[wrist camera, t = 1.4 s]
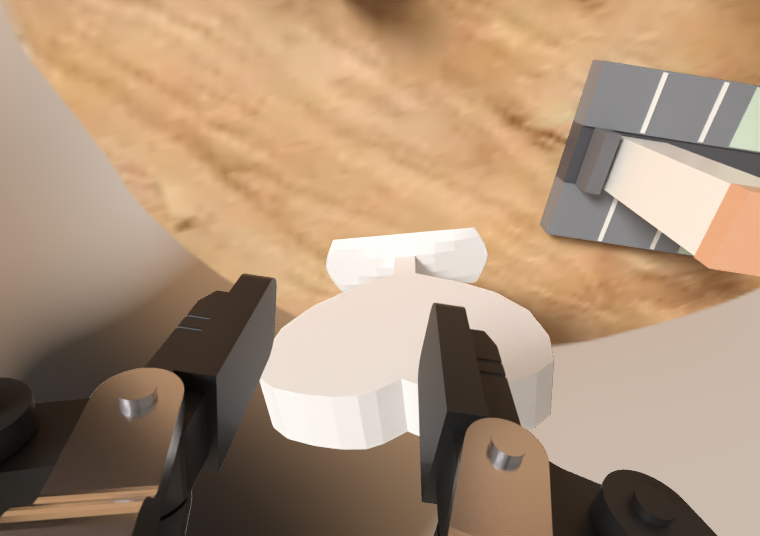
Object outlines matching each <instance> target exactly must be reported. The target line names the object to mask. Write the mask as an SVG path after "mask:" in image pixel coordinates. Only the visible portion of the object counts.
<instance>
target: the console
mask: <svg viewBox="0 0 760 536" xmlns="http://www.w3.org/2000/svg"><path fill="white" fill-rule="evenodd" d="M622 136H625V137H632V138H638V139H644V140H651V141H657V142H664V143H668V144H671V145H674V146H676V147H679V148H682V149H684V150H687V151H690V152H692V153H695V154H698V155H700V156H703V157H706V158H708V159H711V160H714V161H716V162H719V163H722V164H724V165H727V166H730V167H732V168H735V169H738V170H740V171H743V172H746V173H748V174H751V175H754V176H756V177H759V178H760V86H758V85H752V84H746V83H739V82H733V81H727V80H721V79H714V78H708V77H702V76H696V75H689V74H683V73H677V72H671V71H664V70H658V69H652V68H646V67H639V66H633V65H627V64H621V63H614V62H608V61H599V60H593V62H592V65H591V69H590V72H589V75H588V78H587V81H586V84H585V87H584V90H583V93H582V96H581V99H580V103H579V106H578V109H577V112H576V115H575V118H574V121H573V124H572V127H571V130H570V133H569V137H568V140H567V143H566V146H565V149H564V152H563V155H562V158H561V161H560V164H559V168H558V171H557V174H556V177H555V180H554V183H553V186H552V189H551V192H550V195H549V198H548V202H547V205H546V208H545V211H544V214H543V217H542V220H541V223H540V225H541V226H542V228H543V229H544V230H545V232H546V233H547V234H551V235H557V236H564V237H570V238H577V239H583V240H590V241H596V242H603V243H609V244H616V245H622V246H629V247H635V248H642V249H648V250H655V251H661V252H668V253H675V254H681V255H688V256H694V255H692V254H691V253H690V252H688V251H687V250H686V249H684V248H683V247H682V246H680V245H679V244H677V243H676V242H675V241H673V240H672V239H671V238H669V237H668V236H667V235H665V234H664V233H662V232H661V231H660V230H658V229H657V228H656V227H654V226H653V225H651V224H650V223H649V222H647V221H646V220H645V219H643V218H642V217H641V216H639V215H638V214H636V213H635V212H634V211H632V210H631V209H630V208H628V207H627V206H626V205H624V204H623V203H621V202H620V201H619V200H617V199H616V198H615V197H613V196H612V195H610V194H609V193H608V192H606V191H605V190H604V189H602V187H603V184H604V182H605V179H606V176H607V174H608V171H609V168H610V166H611V163H612V160H613V158H614V155H615V153H616V150H617V147H618V145H619V142H620V139H621V137H622Z"/></svg>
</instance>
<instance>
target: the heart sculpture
mask: <svg viewBox="0 0 760 536" xmlns="http://www.w3.org/2000/svg"><path fill="white" fill-rule="evenodd" d="M487 256H488V254H487V250H486V247H485V244H484V242H483V241H482V239H481V237H480V235H479V234H478V232H477V231H476V229H475V228H463V229H452V230H440V231H429V232H418V233H406V234H395V235H384V236H373V237H361V238H350V239H339V240H333V242H332V244H331V247H330V249H329V253H328V256H327V263H326V269H327V271H328V273H329V275H330V277H331V279H332V280H333V281H334V283H335V284H336V285H337V287H338V288H339V289H340V290H341V291H342V292H343V293H341V294H338V295H336V296H334V297H332V298H329V299H327V300H325V301H323V302H320V303H318V304H316V305H314V306H312V307H311V308H309V309H308V310H307V311H305V312H304V313H302V314H301V315H299V316H298V317H297V318H295V319H294V320H292V321H291V322H290V323H288V324H287V325H285V326H284V327H282V329H281V330H280V332H279V333H278V335H277V336H276V337H275V339H274V341H273V346H272V350H271V354H270V357H269V360H268V362H267V364H266V366H265V369H264V371H263V373H262V375H261V378H260V384H261V387H262V391H263V394H264V397H265V401H266V404H267V407H268V411H269V414H270V418H271V421H272V424H273V427H274V428H275V429H276V430H278V431H279V432H280V433H281V434H282V435H284V436H285V437H286V438H288V439H291V440H295V441H299V442H302V443H306V444H310V445H313V446H320V447H328V448H335V449H368V448H372V447H375V446H378V445H381V444H384V443H386V442H388V441H390V440H392V439H394V438H396V437H398V436H399V435H401V434H403V433H405V432H407V431H409V432H411V433H413V434H416V435H418V436H420V434H419V404H418V369H419V361H420V355H421V351H422V346H423V342H424V338H425V333H426V329H427V324H428V320H429V315H430V311H431V308H432V305H433V303H441V304H447V305H454V306H461V307H465V309H466V314H467V318H468V323H469V327H470V329H474V330H481V331H485V332H486V334H487V335H488V336H489V337H490V338H491V339H492V340H493V342H494V343H495V344H496V345H497V347H498V350H499V354H500V357H501V360H502V363H501V364H503V367H504V370H505V374H506V375H505V378H507V380H508V384H509V387H510V390H511V394H512V397H513V400H514V404H515V407H516V410H517V414H518V417H519V420H520V424H521V426H522V427H523V428H525V429H526V430H529V429H532V428H535V427H536V426H537V425H538V424H539V423H541V422H542V421H543V420H544V419H545V418H546V417H547V416H549V415H550V413H551V399H552V383H553V368H554V357H553V352H552V347H551V342H550V337H549V335H548V334H547V333H546V331H545V330H544V329H543V328H542V326H541V325H540V324H539V323H538V321H537V320H536V319H535V317H534V316H533V315H532V314H531V312H530V311H529V310H527V309H525V308H524V307H522V306H520V305H518V304H516V303H514V302H513V301H511V300H509V299H507V298H505V297H503V296H502V295H500V294H498V293H496V292H493V291H490V290H486V289H483V288H479V287H476V286H472V285H469V284H465V283H474V282H476V281H477V279H478V278H479V276H480V274H481V272H482V270H483V268H484V266H485V264H486V260H487Z"/></svg>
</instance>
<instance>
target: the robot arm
mask: <svg viewBox="0 0 760 536" xmlns="http://www.w3.org/2000/svg"><path fill="white" fill-rule="evenodd" d="M275 309H276V280H275V278H270V277H263V276H257V275H250V274H242V275H241V276H240V278H239V279H238V281H237V282H236V283H235V285H234V286H233V288H232V289H231V290H230V292H222V291H215V292H213V293H212V294H210V295H208V296H206V297H205V298H203V299H201V300H199V301H198V302H197V303H196V304H195V306H194V307H193V308H192V309H191V311H190V312H189V313H188V315H187V317H185V318H184V319H183V320H182V322H181V323H180V324H179V326H178V329H175V330H174V331H173V333H172V334H171V335H170V336H169V338H168V339H167V340H166V341H165V342H164V344H163V345H162V346H161V348H160V349H159V350H158V351H157V352H156V354H155V355H154V356H153V357H152V358H151V360H150V361H149V362H148V363H147V365H146V366H145V367H144V368H140V369H134V370H130V371H126V372H123V373H120V374H118V375H116V376H114V377H111V378H110V379H108V380H107V381H105V382H104V383H102V384H101V385H100V386H99V387H98V388H97V389H96V390H95V391H94V392H93V394H92V395H91V397H90V398H85V399H77V400H66V401H54V402H44V403H35V402H34V399H33V395H32V391H31V389H30V387H29V386H28V385H27V384H25V383H24V382H22V381H19V380H16V379H12V378H0V536H185V533H186V528H187V523H188V517H189V512H190V507H191V501H192V492H191V490H192V488H193V486H194V483H195V481H196V479H197V477H198V475H199V473H200V471H201V470H209V471H215V472H219V471H220V468H221V466H222V464H223V462H224V459H225V457H226V455H227V453H228V450H229V448H230V446H231V444H232V441H233V439H234V437H235V435H236V432H237V430H238V428H239V425H240V423H241V420H242V419H243V416H244V414H245V412H246V409H247V407H248V405H249V403H250V400H251V398H252V396H253V393H254V391H255V389H256V387H257V385H258V382H259V380H260V378H261V375H262V373H263V371H264V369H265V366H266V364H267V362H268V360H269V357H270V354H271V350H272V346H273V341H274V329H275ZM501 363H502V360H501V357H500V354H499V350H498V347H497V345H496V344H495V343H494V342H493V340H492V339H491V338H490V337H489V336H488V335H487V334H486V332H485V331H481V330H474V329H470V327H469V323H468V318H467V314H466V309H465V307H461V306H454V305H447V304H441V303H433V305H432V308H431V311H430V315H429V320H428V324H427V329H426V333H425V338H424V342H423V346H422V351H421V355H420V361H419V369H418V404H419V434H420V465H421V495H422V502H426V503H433V504H437V511H438V523H437V526H436V530H435V533H434V536H717V535H716V534H715V533H714V532H713V531H712V530H711V528H710V527H709V526H708V525H707V524H706V523H705V522H704V521H703V520H702V519H701V518H700V517H699V516H698V515H697V514H696V513H695V512H694V510H693V509H691V507H690V506H689V505H688V504H687V503H686V502H685V501H684V500H683V499H682V498H681V497H680V496H679V495H678V494H677V493H675V492H674V491H673V490H672V489H670V488H669V487H668V486H666V485H665V484H663V483H662V482H660V481H658V480H656V479H655V478H653V477H650V476H648V475H646V474H643V473H640V472H637V471H632V470H617V471H614V472H611V473H610V474H608V475H607V477H606V478H605V479H604V481H603V483H602V485H600V484H598V483H595V482H593V481H591V480H588V479H586V478H583V477H581V476H578V475H576V474H574V473H571V472H568V471H566V470H564V469H562V468H560V467H558V466H556V465H555V464H553V463H551V462H550V461H549V460H548V456H547V453H546V451H545V449H544V447H543V446H542V444H541V443H540V442H539V440H538V439H537V438H536V437H535V436H534V435H533V434H531V433H530V432H529V431H528V430H526V429H525V428H523V427H522V426H521V424H520V420H519V417H518V414H517V410H516V407H515V404H514V400H513V397H512V394H511V390H510V387H509V384H508V380H507V378H505V375H506V374H505V370H504V367H503V364H501Z"/></svg>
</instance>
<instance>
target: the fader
mask: <svg viewBox="0 0 760 536" xmlns="http://www.w3.org/2000/svg"><path fill="white" fill-rule="evenodd" d="M602 189H604V190H605V191H606V192H608V193H609V194H610V195H612V196H613V197H615V198H616V199H617V200H619V201H620V202H621V203H623V204H624V205H626V206H627V207H628V208H630V209H631V210H632V211H634V212H635V213H636V214H638V215H639V216H641V217H642V218H643V219H645V220H646V221H647V222H649V223H650V224H651V225H653V226H654V227H656V228H657V229H658V230H660V231H661V232H662V233H664V234H665V235H667V236H668V237H669V238H671V239H672V240H673V241H675V242H676V243H677V244H679V245H680V246H682V247H683V248H684V249H686V250H687V251H688V252H690V253H691V254H692V255H694V258H695V259H697V260H698V261H699V262H701V263H702V264H703V265H705V266H706V267H707V268H709V269H715V270H721V271H728V272H734V273H741V274H747V275H754V276H760V178H759V177H756V176H754V175H751V174H748V173H746V172H743V171H740V170H738V169H735V168H732V167H730V166H727V165H724V164H722V163H719V162H716V161H714V160H711V159H708V158H706V157H703V156H700V155H698V154H695V153H692V152H690V151H687V150H684V149H682V148H679V147H676V146H674V145H671V144H668V143H664V142H657V141H651V140H644V139H638V138H632V137H625V136H622V137H621V139H620V142H619V145H618V147H617V150H616V153H615V155H614V158H613V160H612V163H611V166H610V168H609V171H608V174H607V176H606V179H605V182H604V184H603V187H602Z"/></svg>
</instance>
